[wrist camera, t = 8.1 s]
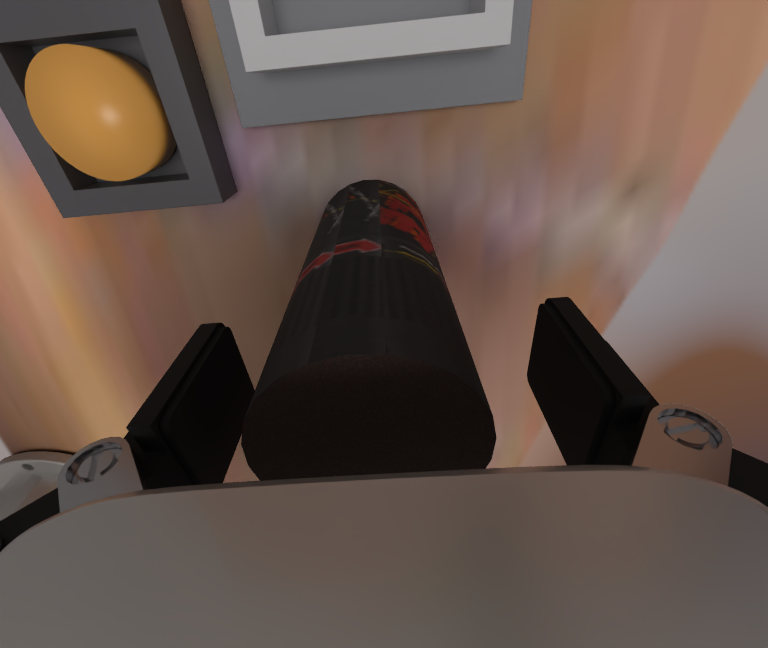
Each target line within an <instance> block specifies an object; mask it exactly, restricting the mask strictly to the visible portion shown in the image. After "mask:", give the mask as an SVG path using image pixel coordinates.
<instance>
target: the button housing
mask: <svg viewBox="0 0 768 648" xmlns="http://www.w3.org/2000/svg"><path fill="white" fill-rule="evenodd" d="M58 44H73V45H81V46H89V47H97V48H105V49H111V50H114V51H118V52H120V53H122V54H125V55H127V56H128V57H130V58H132V59H134V60H135V61H137V62H138V63H139V64H141V65H142V66H143V67H144V68H145V69H147V70H148V71H149V72H150V73H151V74H152V76H153V79H154V82H155V84H156V87H157V90H158V93H159V96H160V98H161V101H162V104H163V107H164V109H165V112H166V115H167V118H168V121H169V123H170V126H171V129H172V132H173V135H174V137H175V140H176V147H175V150H174V152H173V154H172V156H171V157H170V159H169V160H168V161H167V162H166V163H165V164H164V165H163V166H161V167H159V168H157V169H155V170H153V171H150V172H148V173H145V174H143V175H140V176H138V177H135V178H133V179H130V180H125V181H107V180H103V179H99V178H96V177H93V176H90V175H88V174H86V173H84V172H82V171H80V170H78V169H77V168H75V167H74V166H72V165H71V164H69V163H68V162H67V161H65V160H64V159H63V158H62V157H61V156H60V155H59V154H58V153H57V152H55V151H54V150H53V148H52V147H51V146H50V145H49V144H48V143H47V141H46V140H45V139H44V137H43V136H42V135H41V133H40V131H39V130H38V128H37V126H36V125H35V123H34V120H33V118H32V116H31V114H30V111H29V108H28V105H27V100H26V95H25V77H26V72H27V69H28V66H29V64H30V62H31V61H32V59H33V58H34V57H35V56H36V55H37V54H38V53H39V52H40V51H42V50H43V49H45V48H47V47H50V46H53V45H58ZM0 107H1V109H2V111H3V112H4V114H5V116H6V118H7V119H8V121H9V123H10V125H11V127H12V128H13V130H14V132H15V134H16V135H17V137H18V139H19V141H20V142H21V144H22V146H23V148H24V149H25V151H26V153H27V155H28V156H29V158H30V160H31V162H32V163H33V165H34V167H35V169H36V171H37V172H38V174H39V176H40V178H41V179H42V181H43V183H44V185H45V186H46V188H47V190H48V192H49V193H50V195H51V197H52V199H53V200H54V202H55V204H56V206H57V208H58V209H59V211H60V213H61V215H62V216H63V218H69V217H80V216H90V215H101V214H111V213H122V212H132V211H143V210H153V209H164V208H174V207H185V206H195V205H206V204H216V203H223V202H225V201H226V200H227V199H228V198H230V197H231V196H232V195H233V194H235V193H236V192H237V190H236V186H235V183H234V180H233V176H232V173H231V170H230V166H229V163H228V159H227V156H226V153H225V149H224V146H223V143H222V139H221V136H220V132H219V129H218V126H217V122H216V119H215V115H214V112H213V109H212V105H211V102H210V99H209V95H208V92H207V88H206V85H205V82H204V78H203V75H202V72H201V68H200V65H199V61H198V58H197V55H196V51H195V48H194V45H193V41H192V38H191V34H190V31H189V28H188V24H187V21H186V17H185V14H184V11H183V7H182V4H181V1H180V0H0Z"/></svg>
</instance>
